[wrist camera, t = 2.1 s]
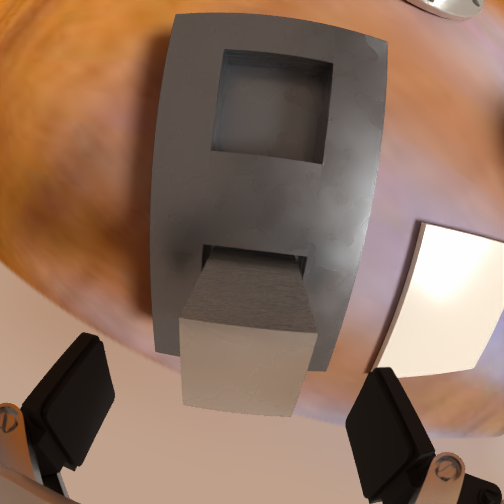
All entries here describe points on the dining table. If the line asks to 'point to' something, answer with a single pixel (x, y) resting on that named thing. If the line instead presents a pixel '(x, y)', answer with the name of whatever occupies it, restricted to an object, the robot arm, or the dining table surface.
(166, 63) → the block with square recesses
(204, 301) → the steel block
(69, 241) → the dining table surface
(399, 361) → the tile
